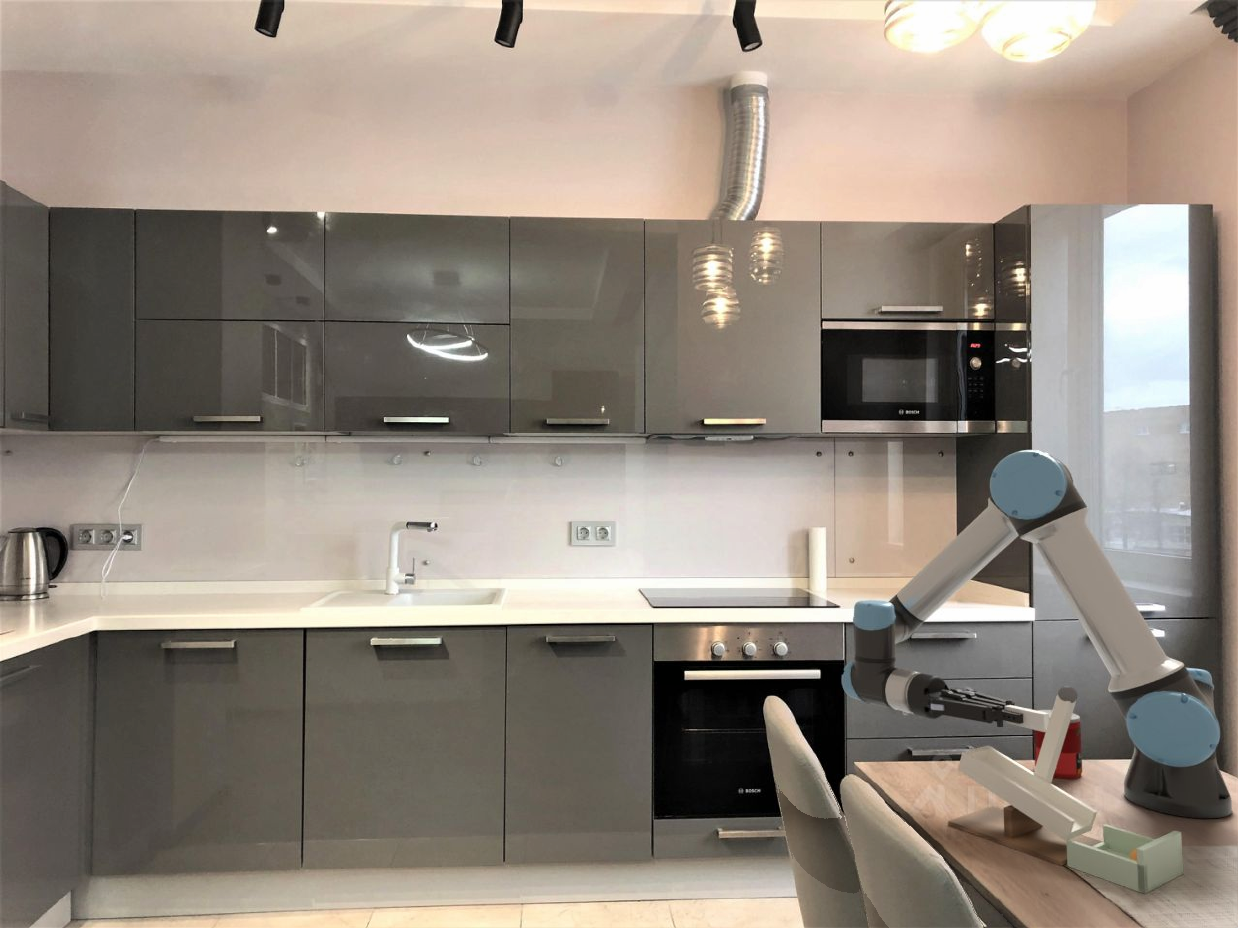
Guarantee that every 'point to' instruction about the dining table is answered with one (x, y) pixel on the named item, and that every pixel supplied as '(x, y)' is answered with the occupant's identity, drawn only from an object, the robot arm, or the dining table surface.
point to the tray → (1114, 863)
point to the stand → (1018, 832)
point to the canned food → (1065, 749)
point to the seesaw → (1035, 777)
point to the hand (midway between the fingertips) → (1046, 722)
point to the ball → (1133, 855)
